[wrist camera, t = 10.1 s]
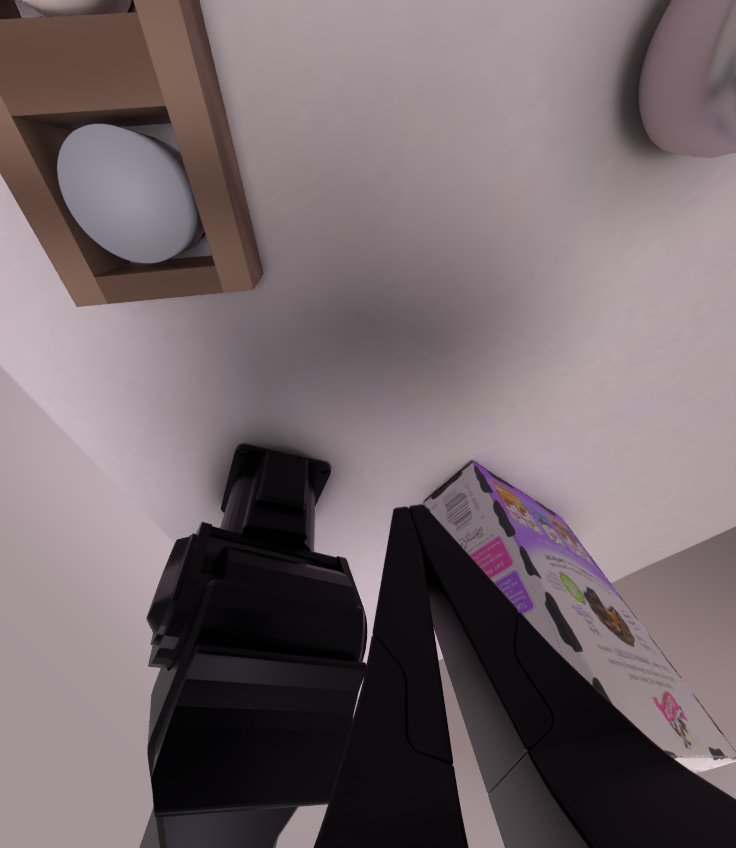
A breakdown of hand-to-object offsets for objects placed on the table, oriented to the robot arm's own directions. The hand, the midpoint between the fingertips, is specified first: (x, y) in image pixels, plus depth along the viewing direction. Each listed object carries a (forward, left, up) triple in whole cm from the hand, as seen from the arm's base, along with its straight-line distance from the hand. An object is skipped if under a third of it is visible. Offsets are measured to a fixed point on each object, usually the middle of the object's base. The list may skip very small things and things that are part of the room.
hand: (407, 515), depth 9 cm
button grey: (+3, +11, -12) cm, 16 cm away
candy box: (-10, -17, -12) cm, 23 cm away
